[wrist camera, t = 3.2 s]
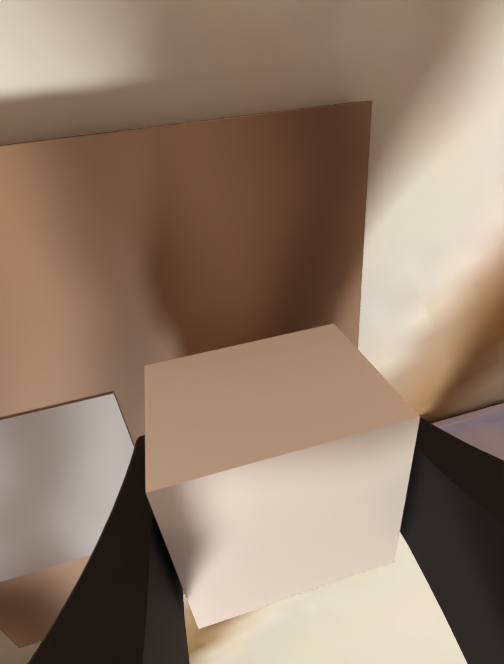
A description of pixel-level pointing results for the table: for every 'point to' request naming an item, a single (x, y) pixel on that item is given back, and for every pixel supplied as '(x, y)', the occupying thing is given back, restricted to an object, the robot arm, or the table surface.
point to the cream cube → (275, 468)
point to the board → (149, 301)
